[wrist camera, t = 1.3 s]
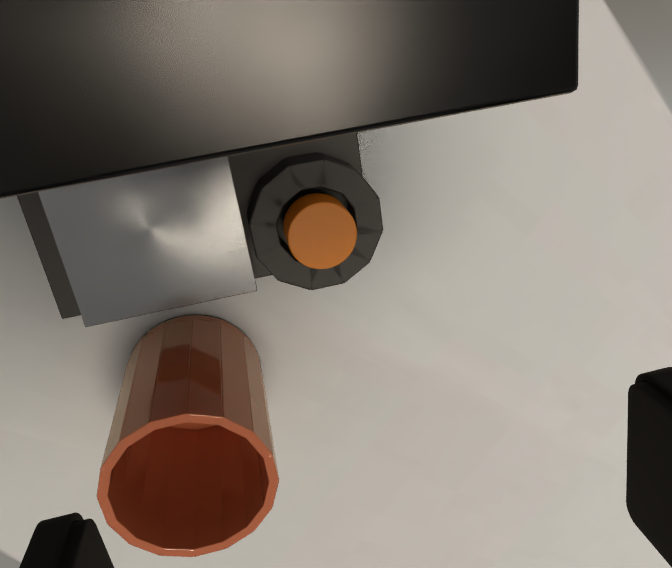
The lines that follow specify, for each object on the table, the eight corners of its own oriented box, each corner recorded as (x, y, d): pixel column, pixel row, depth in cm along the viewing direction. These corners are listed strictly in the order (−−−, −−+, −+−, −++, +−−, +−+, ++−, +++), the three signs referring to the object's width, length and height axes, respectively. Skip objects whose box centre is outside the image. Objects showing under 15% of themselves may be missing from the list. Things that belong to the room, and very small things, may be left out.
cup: (147, 441, 33) (126, 574, 25) (110, 331, 30) (73, 439, 22) (271, 411, 34) (291, 532, 25) (246, 301, 31) (259, 396, 23)
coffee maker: (355, 268, 28) (574, 615, 11) (81, 326, 27) (-145, 827, 10) (295, -135, 22) (591, -741, 5) (-66, -88, 20) (-1428, -715, 3)
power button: (289, 262, 28) (294, 276, 26) (277, 199, 27) (281, 209, 25) (353, 249, 28) (361, 262, 27) (343, 186, 27) (352, 195, 25)
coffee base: (70, 317, 29) (56, 345, 27) (-69, -68, 23) (-107, -82, 20) (373, 253, 31) (388, 274, 29) (323, -121, 25) (337, -141, 22)
